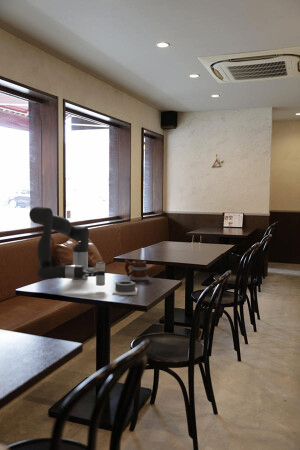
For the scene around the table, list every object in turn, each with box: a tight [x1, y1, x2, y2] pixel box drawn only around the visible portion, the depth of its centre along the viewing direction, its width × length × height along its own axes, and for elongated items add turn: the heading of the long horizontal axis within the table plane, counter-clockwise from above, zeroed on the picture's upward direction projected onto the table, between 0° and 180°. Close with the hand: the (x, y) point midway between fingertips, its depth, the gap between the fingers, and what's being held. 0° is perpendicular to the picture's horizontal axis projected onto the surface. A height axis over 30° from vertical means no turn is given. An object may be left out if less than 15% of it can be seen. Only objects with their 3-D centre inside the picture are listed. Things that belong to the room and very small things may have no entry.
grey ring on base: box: [112, 280, 138, 296], centre depth 229 cm, size 13×13×5 cm
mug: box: [124, 259, 149, 283], centre depth 260 cm, size 12×14×15 cm
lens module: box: [95, 261, 106, 287], centre depth 229 cm, size 5×5×12 cm
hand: (105, 272), depth 229 cm, fingers closed on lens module, 4 cm apart
